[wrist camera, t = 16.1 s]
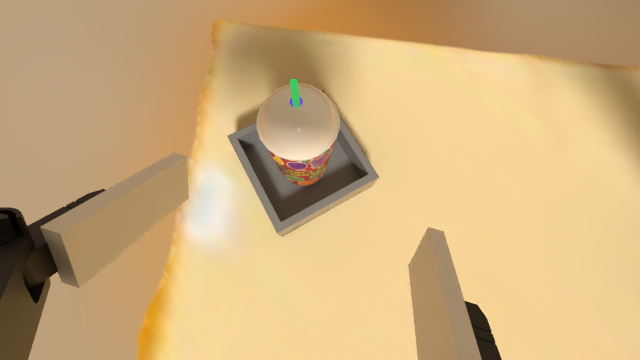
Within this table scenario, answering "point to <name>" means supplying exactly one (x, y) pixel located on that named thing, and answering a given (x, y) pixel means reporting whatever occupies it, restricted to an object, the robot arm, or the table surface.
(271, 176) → the holder tray
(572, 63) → the table surface
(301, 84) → the smoothie
